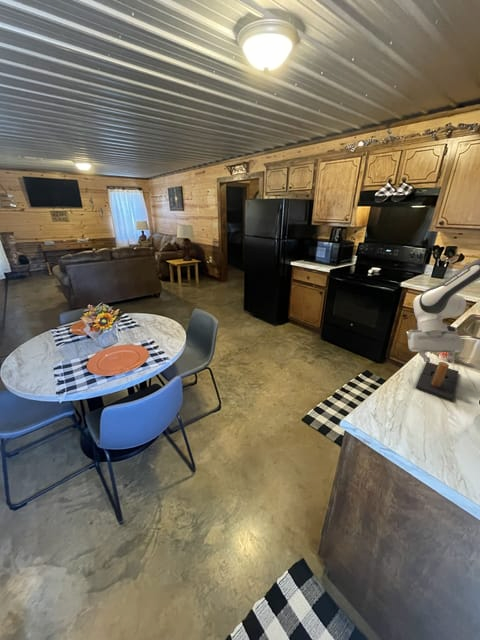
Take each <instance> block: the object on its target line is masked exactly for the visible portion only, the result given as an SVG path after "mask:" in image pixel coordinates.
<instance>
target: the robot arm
mask: <svg viewBox="0 0 480 640" xmlns="http://www.w3.org/2000/svg"><path fill="white" fill-rule="evenodd" d="M479 281H480V258H478V259H475V260H474V261H472V262H470V263H469V264H467V265H466V266H464V267H462V268H461V269H460V270H458V271H457V272H455V273H454V274H452V275H451V276H450V277H448V278H446V279H445V280H444V281H442V282H440V283H439V284H437V285H434V286H431V287H430V288H427V289H425V290H424V292H422V293H421V294H419V295H417V296H415V297H414V300H413V302H412V305H413V312H414V317H415V318H416V321H417V323H416V326H417V329H409V330H408V331H406V335H407V336H406V337H407V345H408V346H407V347H408V349H409V351H410V352H416V353H417V352H418V355H420V357H421V358H422V359H423V362H424V363H426V362H430V363H431V357H430V356H428V355H427V353H440V352H448V355H450V356H449V358H448V359H447V361H446V362H447V364H454V363H455V356H456V353H461V352H463V350H464V349H465V346H464V343H463V340H462V337H461V335H460V334H458V331H459V330H458V328H457V327H455V326H453V325H450V324H446V323H443V320H444V319H453V318H458V317H460V316H461V315H463V314H464V313H465V311H466V310H467V307H468V303H467V300H466V299H465V298H464V297H463V296H461V295H459V293H460V292H462V291H463V290H465V289H467V288H468V287H469V286H471V285H473V284H474V283H477V282H479Z"/></svg>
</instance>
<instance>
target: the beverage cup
mask: <svg viewBox="0 0 480 640" xmlns="http://www.w3.org/2000/svg"><path fill="white" fill-rule="evenodd" d="M449 356H450V355H448V352H439V354H438V358H439V359H440V360H442V361H446V362H448V361H447V359H448V358H449Z"/></svg>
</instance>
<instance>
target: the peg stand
mask: <svg viewBox="0 0 480 640" xmlns="http://www.w3.org/2000/svg"><path fill="white" fill-rule="evenodd" d="M437 365H438V367H437V369H436V372H435V373H433V374H431V375H427V374H424V373H422V372H421V373H420V375H419V378H418V381H417V383H416V386H415V389H416V390H418V391H422V392H424V393H427V394H430V395H432V396H434V397H438V398H441V399H443V400H445V401H449V402H453V399H454V395H455V390H456V386H457V383H456V384H454V383H451V382H448V381H447V380H446V379H445V374H446V372H447V369H448V368H449V366H450V365H449V363H448V362H444V361H438V364H437Z"/></svg>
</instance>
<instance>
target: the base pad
mask: <svg viewBox="0 0 480 640" xmlns="http://www.w3.org/2000/svg"><path fill="white" fill-rule="evenodd" d="M437 367H438V364H436V363H433V362H431V361H430V362H425V365H424V367H423V369H422V371H421V373H424V374H427V375H430V376H432V375H433V373H435V372H436V369H437ZM458 376H459V370H456V369H453V368H449V367H448V369H447V372H446V374H445V380H446V381H448V382H451V383H454V384H456V385H457V381H458Z"/></svg>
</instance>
